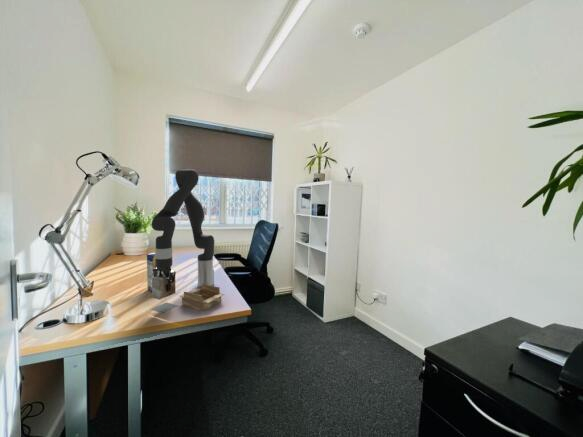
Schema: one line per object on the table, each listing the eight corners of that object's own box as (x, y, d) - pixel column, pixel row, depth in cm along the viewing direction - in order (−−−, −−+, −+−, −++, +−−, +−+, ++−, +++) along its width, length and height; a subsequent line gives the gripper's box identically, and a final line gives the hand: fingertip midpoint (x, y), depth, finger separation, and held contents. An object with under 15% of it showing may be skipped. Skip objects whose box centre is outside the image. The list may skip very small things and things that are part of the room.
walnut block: (168, 291, 120) (168, 272, 120) (175, 293, 118) (175, 274, 118) (152, 297, 112) (152, 277, 111) (159, 299, 110) (159, 279, 109)
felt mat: (166, 303, 122) (166, 302, 122) (178, 306, 118) (178, 305, 118) (150, 310, 113) (150, 309, 113) (162, 314, 110) (162, 313, 110)
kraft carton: (198, 296, 131) (198, 282, 131) (224, 302, 124) (224, 288, 123) (178, 305, 119) (178, 290, 119) (206, 313, 112) (206, 297, 111)
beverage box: (147, 289, 140) (146, 254, 139) (164, 284, 150) (164, 251, 148) (153, 291, 137) (153, 255, 135) (171, 286, 146) (170, 252, 145)
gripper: (180, 256, 115) (180, 290, 116) (160, 253, 120) (161, 285, 121) (167, 260, 108) (167, 295, 109) (147, 256, 113) (147, 290, 114)
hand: (164, 290), depth 115 cm, fingers closed on walnut block, 5 cm apart
